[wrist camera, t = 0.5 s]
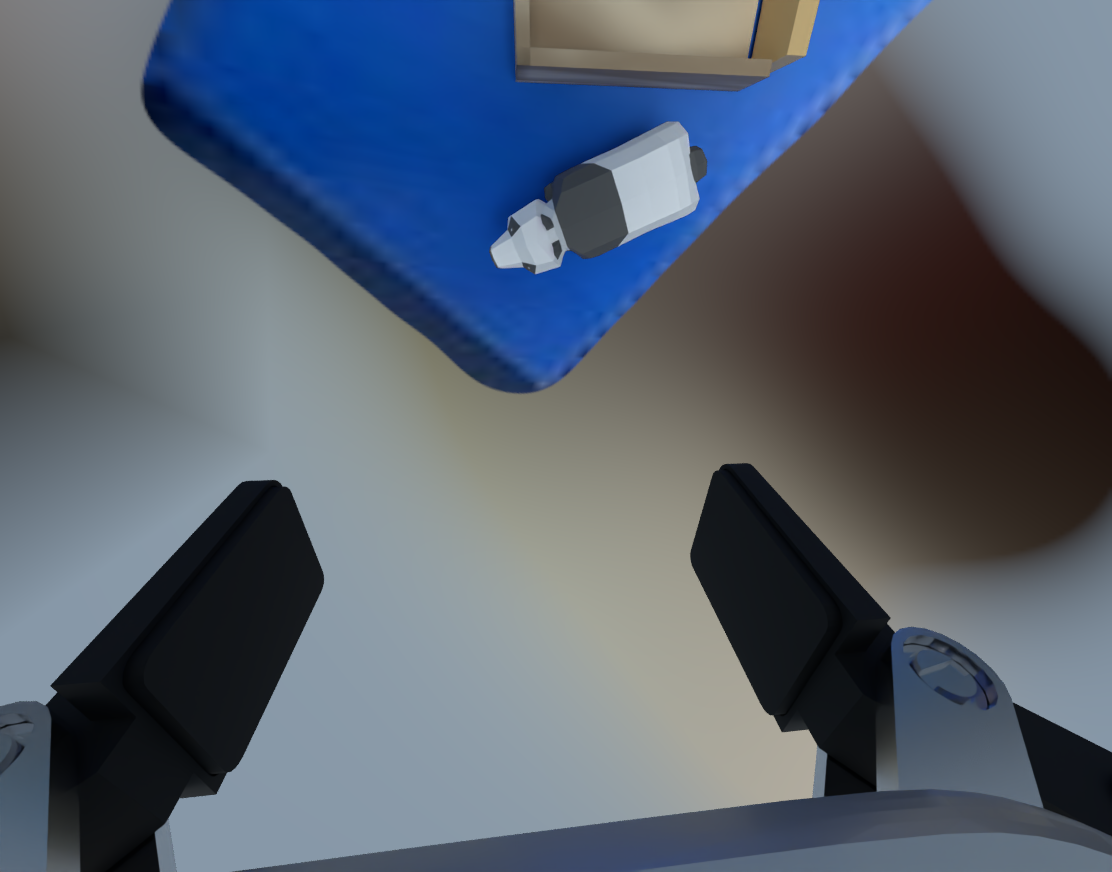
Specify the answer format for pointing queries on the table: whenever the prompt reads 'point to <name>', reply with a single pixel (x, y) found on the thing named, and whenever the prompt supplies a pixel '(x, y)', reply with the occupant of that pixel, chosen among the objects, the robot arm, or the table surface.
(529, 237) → the giant panda
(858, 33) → the table surface
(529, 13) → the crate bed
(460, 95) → the table surface
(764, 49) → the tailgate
